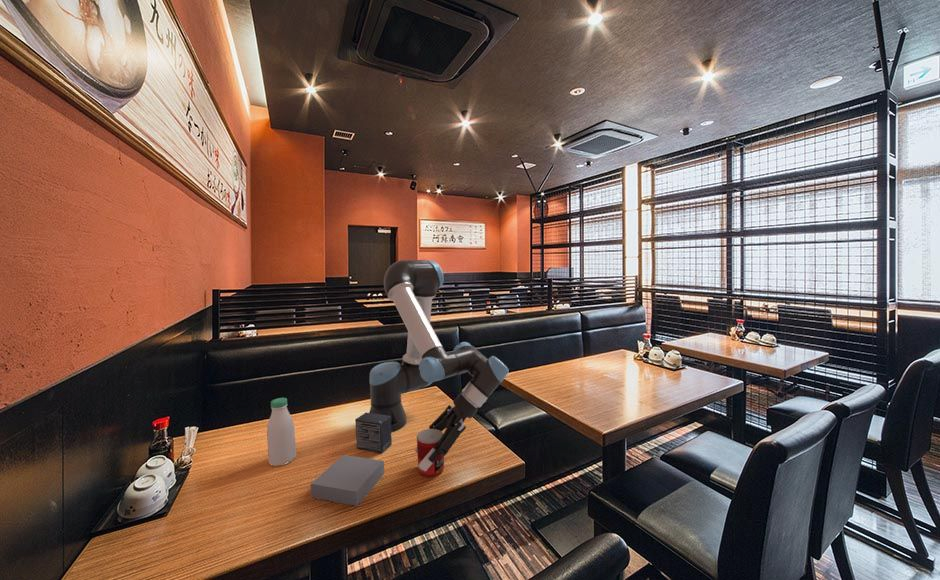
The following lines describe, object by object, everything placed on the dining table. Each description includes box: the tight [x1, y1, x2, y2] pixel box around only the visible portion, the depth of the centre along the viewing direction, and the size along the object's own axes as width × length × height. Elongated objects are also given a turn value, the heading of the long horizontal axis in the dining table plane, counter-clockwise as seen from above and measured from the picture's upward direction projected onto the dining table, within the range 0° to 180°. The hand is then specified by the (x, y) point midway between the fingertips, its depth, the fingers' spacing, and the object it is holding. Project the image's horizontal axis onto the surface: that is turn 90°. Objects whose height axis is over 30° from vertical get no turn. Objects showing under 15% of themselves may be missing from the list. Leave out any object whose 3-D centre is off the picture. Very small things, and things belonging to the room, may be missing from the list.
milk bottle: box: [266, 397, 297, 466], centre depth 108 cm, size 8×8×20 cm
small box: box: [355, 412, 393, 454], centre depth 115 cm, size 11×6×10 cm, turn 71°
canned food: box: [416, 428, 445, 478], centre depth 101 cm, size 8×8×11 cm
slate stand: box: [310, 454, 385, 507], centre depth 95 cm, size 14×14×4 cm
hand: (419, 460), depth 100 cm, fingers closed on canned food, 8 cm apart
